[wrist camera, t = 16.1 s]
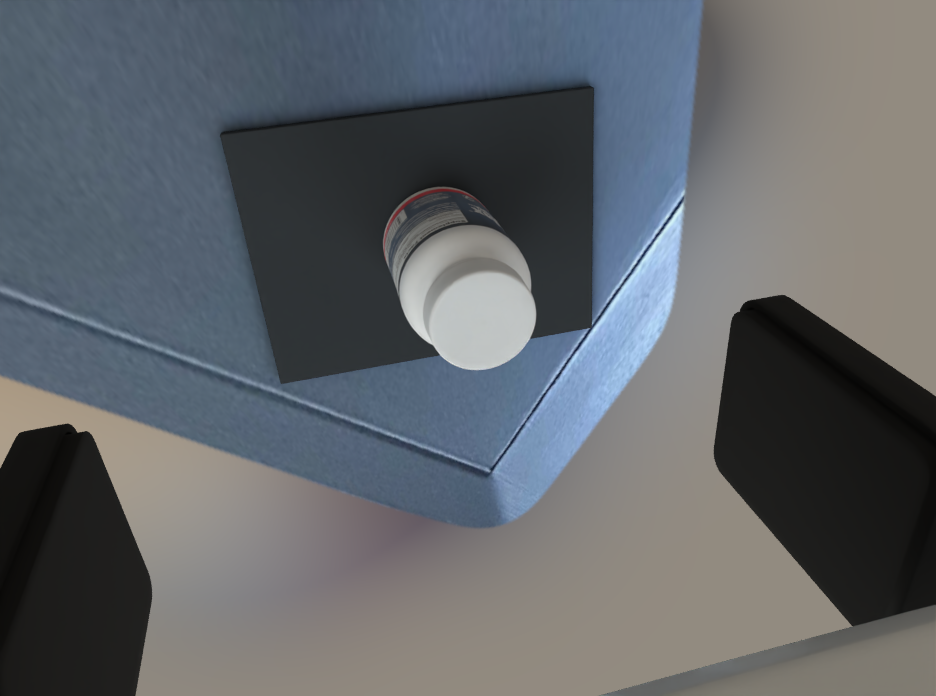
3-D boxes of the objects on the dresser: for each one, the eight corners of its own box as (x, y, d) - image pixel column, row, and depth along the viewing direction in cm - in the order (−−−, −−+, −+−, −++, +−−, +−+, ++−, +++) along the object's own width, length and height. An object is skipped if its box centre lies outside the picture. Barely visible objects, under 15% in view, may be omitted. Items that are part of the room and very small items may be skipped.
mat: (281, 380, 35) (280, 384, 35) (220, 132, 29) (219, 134, 29) (589, 324, 38) (591, 327, 37) (590, 85, 32) (594, 87, 32)
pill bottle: (510, 259, 35) (575, 345, 27) (415, 311, 35) (452, 411, 27) (463, 162, 32) (521, 227, 24) (360, 219, 32) (385, 301, 24)
